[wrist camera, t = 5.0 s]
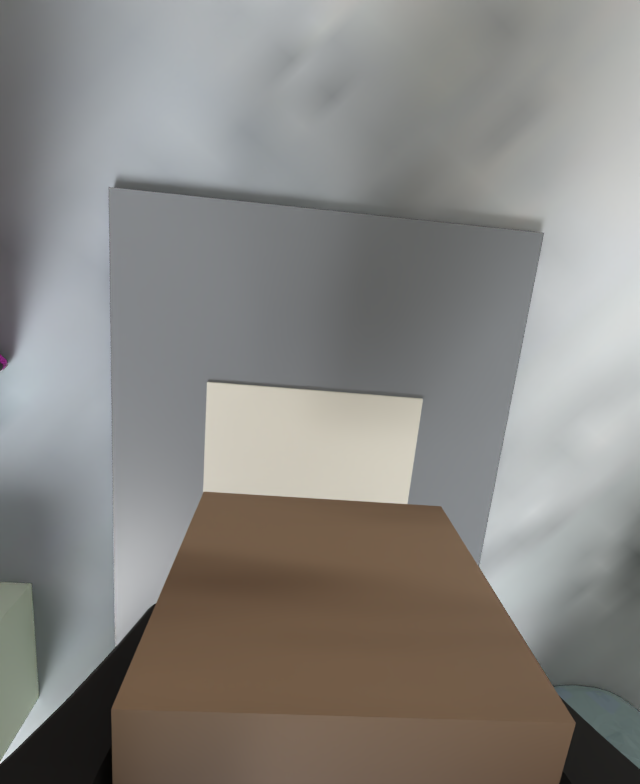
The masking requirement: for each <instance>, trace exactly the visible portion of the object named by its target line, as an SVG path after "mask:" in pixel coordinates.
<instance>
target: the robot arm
mask: <svg viewBox="0 0 640 784" xmlns="http://www.w3.org/2000/svg"><path fill="white" fill-rule="evenodd" d="M155 605H156V604H154V605H152V606H151V607H150V608H149V609H148V610H147V611H146V612H145V613H144V615H143V616H142V617H141V618H140V619H139V621H138V622H137V623H136V624H135V625H134V626H133V628H132V629H131V630H130V631H129V632H128V633H127V635H126V636H125V637H124V638H123V639H122V640H121V642H120V643H119V644H118V645H117V646H116V647H115V648H114V649H113V651H112V652H111V653H110V654H109V655H108V656H107V657H106V658H105V659H104V661H103V662H102V663H101V664H100V665H99V666H98V667H97V668H96V669H95V670H94V671H93V672H92V673H91V674H90V676H89V677H88V678H87V679H86V680H85V681H84V682H83V683H82V684H81V685H80V686H79V687H78V688H77V689H76V690H75V692H74V693H73V694H72V695H71V696H70V697H69V698H68V699H67V700H66V701H65V702H64V703H63V704H62V705H61V706H60V707H59V708H58V709H57V710H56V711H55V712H54V713H53V714H52V715H51V716H50V717H49V718H48V719H47V720H46V721H45V722H44V723H43V724H42V725H41V726H40V727H39V728H38V729H36V730H35V731H34V732H33V733H32V734H31V735H30V736H29V737H28V738H27V739H26V740H25V741H24V742H23V743H22V744H21V745H20V746H19V747H18V748H17V749H16V750H15V751H14V752H13V753H12V754H11V755H10V756H8V757H7V758H6V759H5V760H4V761H3V762H2V763H1V764H0V784H113V783H112V725H111V709H112V706H113V704H114V701H115V699H116V697H117V694H118V692H119V690H120V687H121V685H122V683H123V680H124V678H125V676H126V673H127V671H128V669H129V666H130V664H131V661H132V659H133V657H134V654H135V652H136V650H137V647H138V645H139V643H140V640H141V638H142V636H143V633H144V631H145V629H146V626H147V624H148V621H149V619H150V617H151V614H152V612H153V610H154V607H155ZM559 697H560V696H559ZM560 698H561V697H560ZM561 700H562V702H563V703H564V705H565V706H566V708H567V710H568V711H569V713H570V714H571V716H572V718H573V719H574V721H575V722H576V724H575V728H574V732H573V735H572V739H571V742H570V746H569V750H568V753H567V757H566V760H565V764H564V768H563V771H562V775H561V779H560V782H559V784H640V769H639V768H638V767H637V766H636V765H635V764H633V763H632V762H631V761H630V760H629V759H628V758H627V757H626V756H624V755H623V754H622V753H621V752H620V751H619V750H618V749H616V748H615V747H614V746H613V745H612V744H611V743H610V742H609V741H607V740H606V739H605V738H604V737H603V736H602V735H601V734H600V733H598V732H597V731H596V730H595V729H594V728H593V727H592V726H591V725H590V724H589V723H588V722H587V721H585V720H584V719H583V718H582V717H581V716H580V715H579V714H578V713H577V712H576V711H575V710H574V709H573V708H572V707H570V706H569V705H568V704H567V703H566V702H565V701H564V700H563V699H562V698H561Z"/></svg>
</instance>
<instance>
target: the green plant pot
mask: <svg viewBox="0 0 640 784" xmlns="http://www.w3.org/2000/svg"><path fill="white" fill-rule="evenodd" d="M554 689H555V690H556V692H557V694H558V695H559V696H560V697H561V698H562V699H563V700H564V701H565V702H566V703H567V704H568V705H569V706H570V707H572V708H573V709H574V710H575V711H576V712H577V713H578V714H579V715H580V716H581V717H582V718H583V719H584V720H585V721H587V722H588V723H589V724H590V725H591V726H592V727H593V728H594V729H595V730H596V731H597V732H598V733H600V734H601V735H602V736H603V737H604V738H605V739H606V740H607V741H609V742H610V743H611V744H612V745H613V746H614V747H615V748H616V749H618V750H619V751H620V752H621V753H622V754H623V755H624V756H626V757H627V758H628V759H629V760H630V761H631V762H632V763H633V764H635V765H636V766H637V767H638V768H639V769H640V712H639V711H638V710H637V709H636V708H634V707H633V706H632V705H631V704H629V703H628V702H627V701H625V700H623V699H622V698H621V697H619V696H617V695H615V694H613V693H611V692H609V691H606V690H602V689H599V688H594V687H587V686H577V685H565V686H555V687H554Z"/></svg>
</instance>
